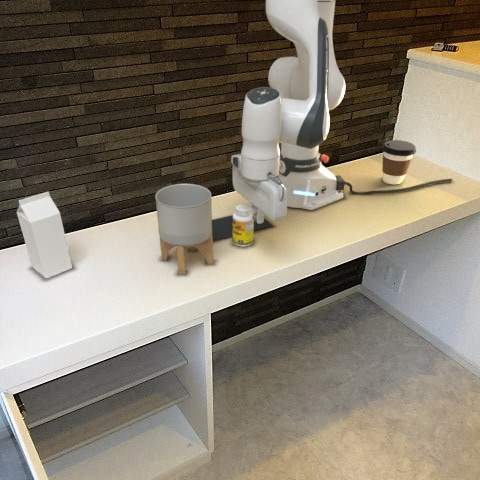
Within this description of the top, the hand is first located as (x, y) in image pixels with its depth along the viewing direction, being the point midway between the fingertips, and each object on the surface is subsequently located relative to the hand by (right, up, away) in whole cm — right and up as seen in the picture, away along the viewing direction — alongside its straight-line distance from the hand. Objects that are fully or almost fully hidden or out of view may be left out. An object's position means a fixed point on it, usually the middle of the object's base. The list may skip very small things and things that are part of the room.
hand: (257, 221), depth 123 cm
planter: (-18, -9, +4) cm, 20 cm away
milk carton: (-51, -12, 0) cm, 52 cm away
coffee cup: (+47, +23, +46) cm, 69 cm away
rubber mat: (-6, +2, +19) cm, 20 cm away
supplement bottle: (-4, -4, +12) cm, 13 cm away
